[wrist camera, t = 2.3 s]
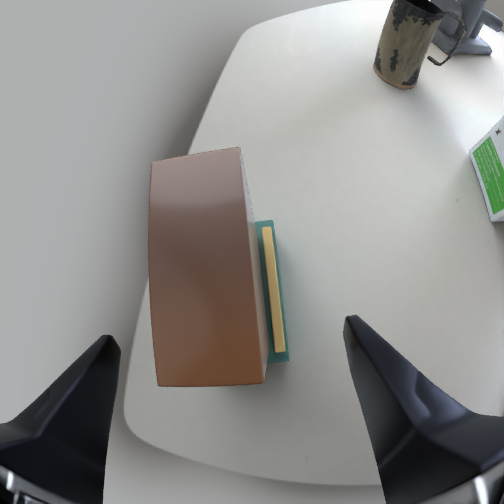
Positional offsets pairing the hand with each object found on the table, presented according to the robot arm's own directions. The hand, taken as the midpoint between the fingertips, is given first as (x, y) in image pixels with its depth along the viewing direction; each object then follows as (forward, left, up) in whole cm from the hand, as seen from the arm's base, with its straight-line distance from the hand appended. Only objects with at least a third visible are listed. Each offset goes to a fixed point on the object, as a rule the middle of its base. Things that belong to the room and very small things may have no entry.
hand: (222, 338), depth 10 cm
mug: (+27, -16, -10) cm, 33 cm away
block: (+2, 0, -7) cm, 8 cm away
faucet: (+42, -34, -10) cm, 55 cm away
